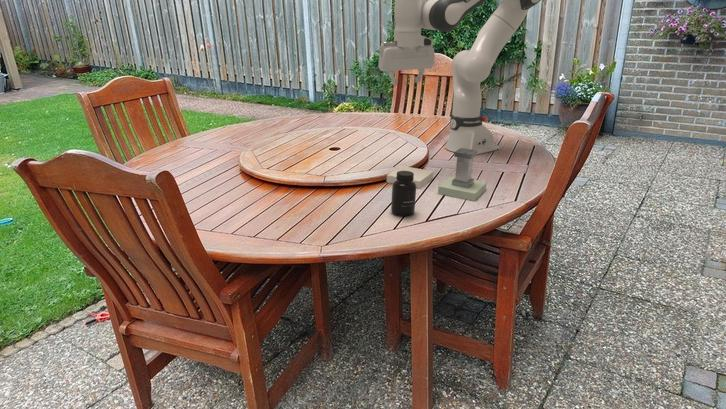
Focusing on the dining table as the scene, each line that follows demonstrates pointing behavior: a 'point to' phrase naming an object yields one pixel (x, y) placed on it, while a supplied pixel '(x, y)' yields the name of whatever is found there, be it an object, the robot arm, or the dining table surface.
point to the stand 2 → (462, 189)
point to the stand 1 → (419, 175)
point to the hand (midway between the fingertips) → (406, 83)
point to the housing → (464, 167)
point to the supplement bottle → (403, 194)
